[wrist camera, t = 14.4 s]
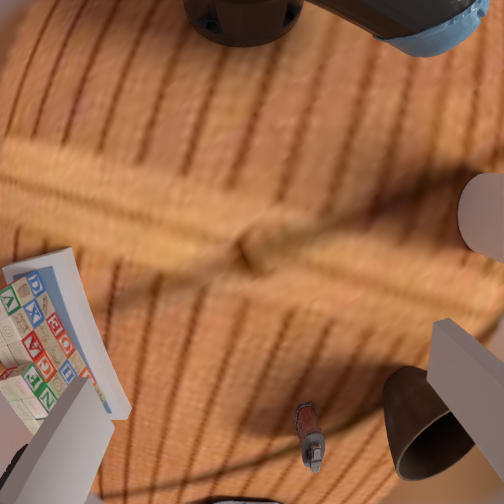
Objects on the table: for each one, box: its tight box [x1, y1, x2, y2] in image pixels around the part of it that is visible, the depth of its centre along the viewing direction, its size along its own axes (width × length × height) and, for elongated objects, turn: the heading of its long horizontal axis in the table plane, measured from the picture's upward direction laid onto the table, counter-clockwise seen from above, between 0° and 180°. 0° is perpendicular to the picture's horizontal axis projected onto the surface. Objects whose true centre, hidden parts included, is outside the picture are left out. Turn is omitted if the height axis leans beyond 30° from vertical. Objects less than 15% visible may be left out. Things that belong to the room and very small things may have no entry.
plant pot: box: [383, 367, 476, 481], centre depth 39 cm, size 15×15×16 cm
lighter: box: [295, 402, 325, 473], centre depth 42 cm, size 8×3×10 cm, turn 4°
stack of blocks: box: [0, 270, 106, 435], centre depth 33 cm, size 21×6×12 cm, turn 19°
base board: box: [2, 247, 132, 420], centre depth 41 cm, size 27×12×3 cm, turn 11°
